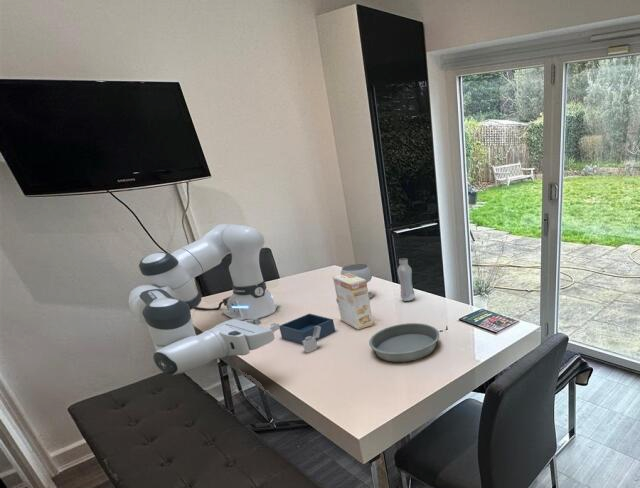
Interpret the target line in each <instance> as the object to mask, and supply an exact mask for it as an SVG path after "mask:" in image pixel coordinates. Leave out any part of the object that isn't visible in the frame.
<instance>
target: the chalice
mask: <svg viewBox="0 0 640 488" xmlns="http://www.w3.org/2000/svg"><path fill="white" fill-rule="evenodd" d="M346 273H350V274H352V275H355V276H357V277H360V278H362V279H365V280H366V282H367V284H368V283H369V282H371V280H372V278H373V273H372V270H371V269H370V267H369V266H368V265H367V264H364V263H355V264H348V265H345V266H343V267H342V268H341V271H340V275H341V274H346ZM368 295H369V299H371V298H372V297H373V296H374V294H373V293H372V292H370V291H368Z"/></svg>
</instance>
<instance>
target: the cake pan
mask: <svg viewBox="0 0 640 488" xmlns="http://www.w3.org/2000/svg"><path fill="white" fill-rule="evenodd" d="M439 338H440V332H439V330H438V329H437V328H436V327H434V326H432V325H429V324H425V323H418V322H411V323H410V322H409V323H408V322H407V323H399V324H395V325H390V326H387V327H385V328H383V329H381V330H379V331H377V332H376V333H374V334H372V336H371V337H370V339H369V341H368V342H369V346H370V349H372V350H374V352H375V353H376V355H377V357H378V358H380V359H381V360H383V361H388V362H393V363H394V362H395V363H403V362H412V361H416V360H419V359H422V358H424V357H426V356H428V355H430V354H431V353H432V352H433V351H435V349H436V347H437V341H438V340H439Z"/></svg>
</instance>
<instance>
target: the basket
mask: <svg viewBox="0 0 640 488" xmlns="http://www.w3.org/2000/svg"><path fill="white" fill-rule="evenodd" d="M279 326H280V329H279V332H280V337H281V339H284V340H285V341H286V340H287V341H290V342H293V343H296V344H299V345H303V342H302V341H304V340H305V338H306V337H308V336H312V337H313V332H314V328H315V326H320V327H321V330H320V335H319V338H315V339H316V341H318V340H321V339H322V338H324V337H326V336H329V335H331V334H333V333H335V332H336V327H335V322H334V318H331V317H330V318H329V317H325V316H321V315H318V314H314V313H307V314H304V315H302V316H299V317H298V318H297V317H296V318H295V319H293V320H290V321H288V322H285V323H282V324H279Z"/></svg>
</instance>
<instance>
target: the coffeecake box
mask: <svg viewBox="0 0 640 488" xmlns="http://www.w3.org/2000/svg"><path fill="white" fill-rule="evenodd" d="M332 279H333V284H334V290H335V295H336V301H337V300H338V303H337V305H338V310H339V315H340V320H341V321H342V322H344V323H345V324H348V325H349V326H351V327H352V328H355V329H356V330H361V329H364V328H368V327H370V326H373V325H374V320H373V313H372V308H371V301H370V298H369V295H368V292H369V289H368V283H367V282H366V280H365V279H362V278H360V277H357V276H355V275H352V274H350V273H346V274H341V273H340V274H338V275H334V276H332Z"/></svg>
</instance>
